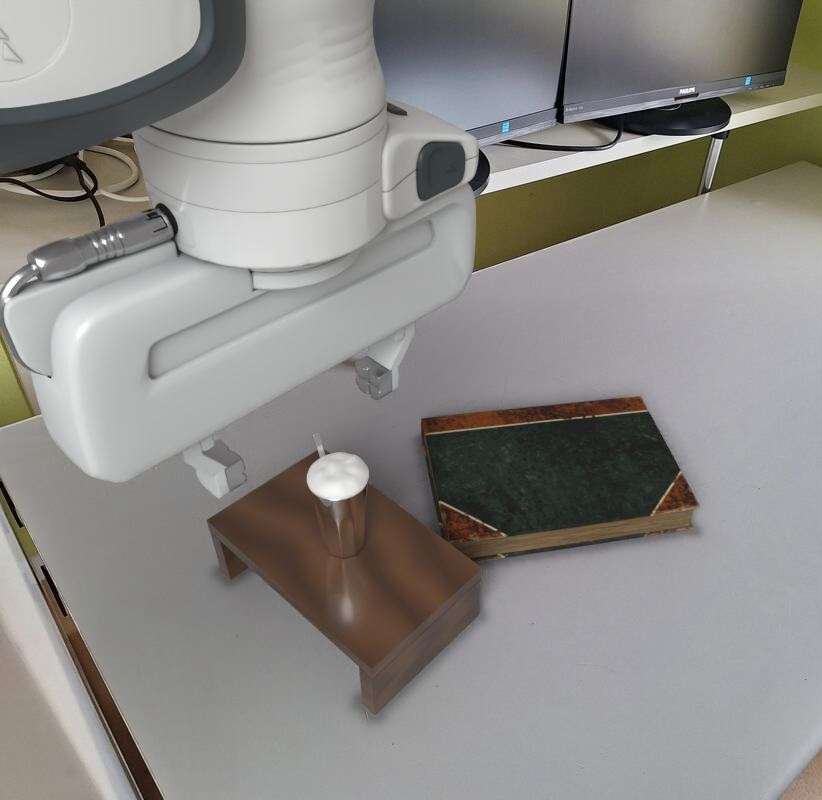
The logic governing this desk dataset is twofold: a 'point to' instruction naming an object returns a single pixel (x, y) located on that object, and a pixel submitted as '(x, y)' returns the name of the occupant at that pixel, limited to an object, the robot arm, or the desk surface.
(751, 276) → the desk surface
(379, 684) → the riser shelf
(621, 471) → the book
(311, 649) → the desk surface
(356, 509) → the milkshake
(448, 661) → the desk surface
